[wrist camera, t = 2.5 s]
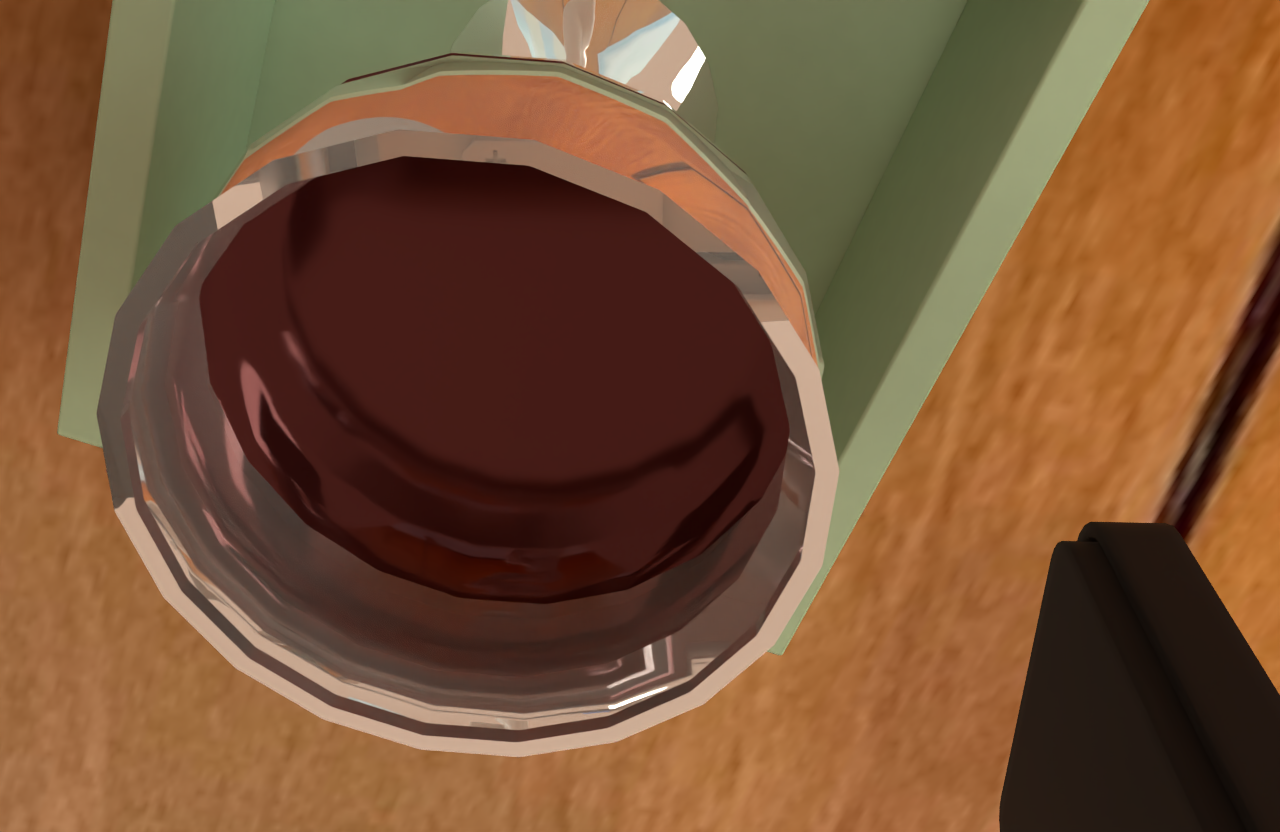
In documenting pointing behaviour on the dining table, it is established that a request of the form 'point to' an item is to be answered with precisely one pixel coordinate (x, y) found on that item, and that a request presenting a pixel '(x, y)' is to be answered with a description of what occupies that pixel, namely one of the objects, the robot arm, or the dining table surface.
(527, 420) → the wineglass
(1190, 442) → the dining table surface
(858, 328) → the bin
